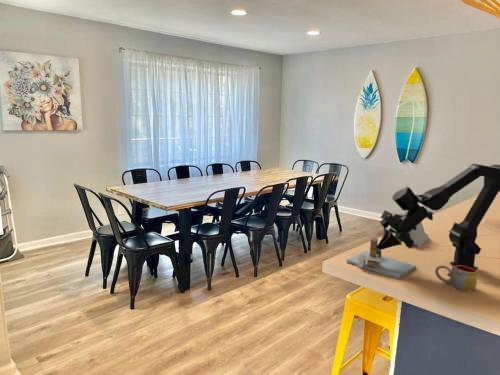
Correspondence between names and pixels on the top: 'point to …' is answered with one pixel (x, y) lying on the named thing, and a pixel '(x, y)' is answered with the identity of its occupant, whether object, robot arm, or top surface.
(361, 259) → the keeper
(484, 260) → the top surface
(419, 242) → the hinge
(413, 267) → the board
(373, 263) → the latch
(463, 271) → the mug
